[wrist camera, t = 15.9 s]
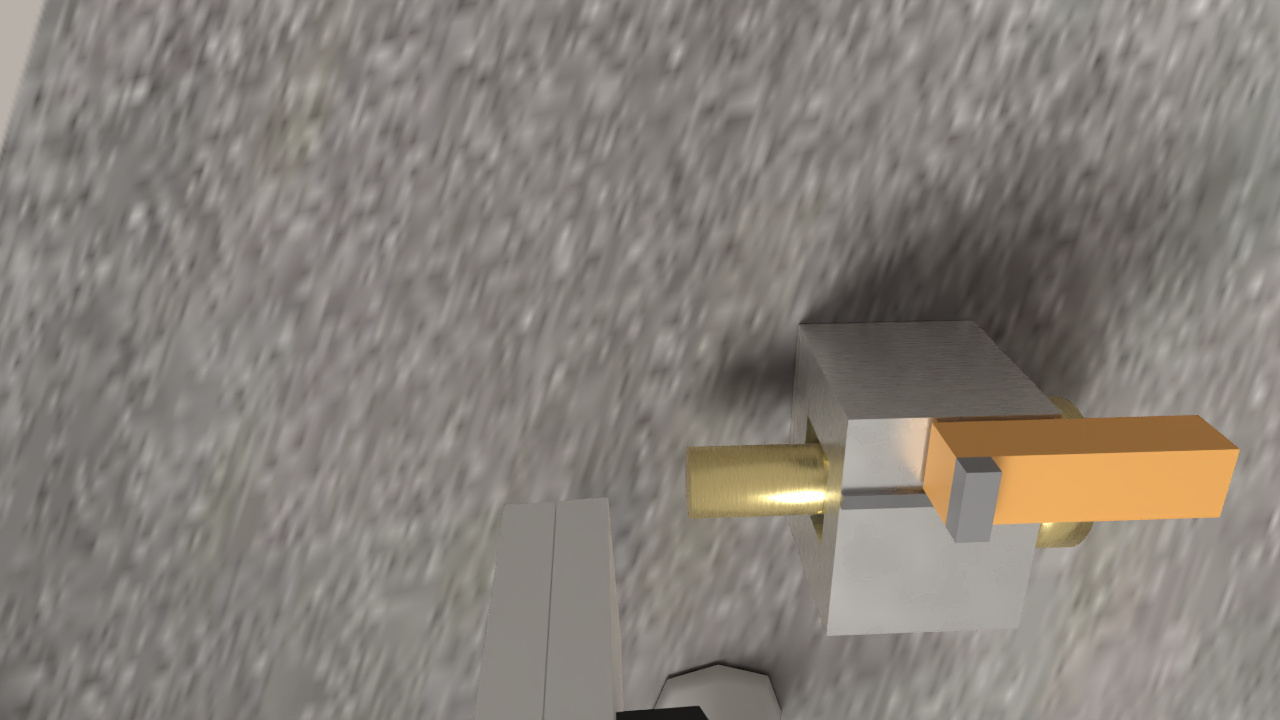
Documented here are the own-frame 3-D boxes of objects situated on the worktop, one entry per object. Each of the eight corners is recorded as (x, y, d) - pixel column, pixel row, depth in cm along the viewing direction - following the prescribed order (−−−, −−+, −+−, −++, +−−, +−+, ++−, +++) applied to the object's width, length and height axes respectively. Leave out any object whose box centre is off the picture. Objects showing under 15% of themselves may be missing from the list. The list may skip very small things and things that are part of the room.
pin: (683, 380, 42) (699, 455, 36) (1040, 371, 43) (1112, 443, 37) (680, 504, 45) (695, 592, 39) (1017, 493, 46) (1080, 578, 40)
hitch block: (797, 324, 43) (850, 423, 35) (973, 320, 44) (1066, 417, 35) (784, 511, 48) (828, 640, 39) (944, 506, 48) (1021, 633, 39)
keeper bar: (931, 422, 35) (966, 473, 32) (1198, 415, 36) (1258, 464, 32) (922, 487, 36) (955, 542, 33) (1180, 479, 37) (1236, 533, 34)
